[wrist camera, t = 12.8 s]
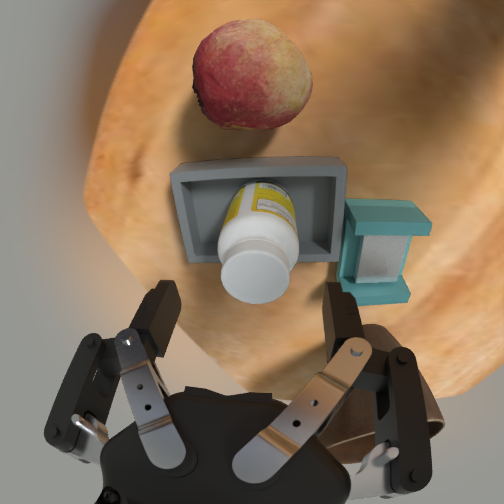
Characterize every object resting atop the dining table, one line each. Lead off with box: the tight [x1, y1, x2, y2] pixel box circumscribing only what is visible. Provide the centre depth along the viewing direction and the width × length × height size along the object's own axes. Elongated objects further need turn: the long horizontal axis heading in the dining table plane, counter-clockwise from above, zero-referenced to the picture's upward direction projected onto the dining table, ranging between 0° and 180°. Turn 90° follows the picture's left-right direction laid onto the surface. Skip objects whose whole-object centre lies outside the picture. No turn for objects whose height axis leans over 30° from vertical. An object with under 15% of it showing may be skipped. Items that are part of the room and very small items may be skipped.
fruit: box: [192, 19, 313, 130], centre depth 15 cm, size 8×8×8 cm
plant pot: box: [318, 324, 445, 464], centre depth 27 cm, size 15×15×16 cm
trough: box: [170, 156, 347, 263], centre depth 23 cm, size 9×14×3 cm, turn 94°
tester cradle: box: [336, 199, 432, 306], centre depth 23 cm, size 9×7×4 cm
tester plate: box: [354, 235, 409, 283], centre depth 23 cm, size 6×4×1 cm
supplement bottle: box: [218, 179, 299, 304], centre depth 20 cm, size 5×5×10 cm
